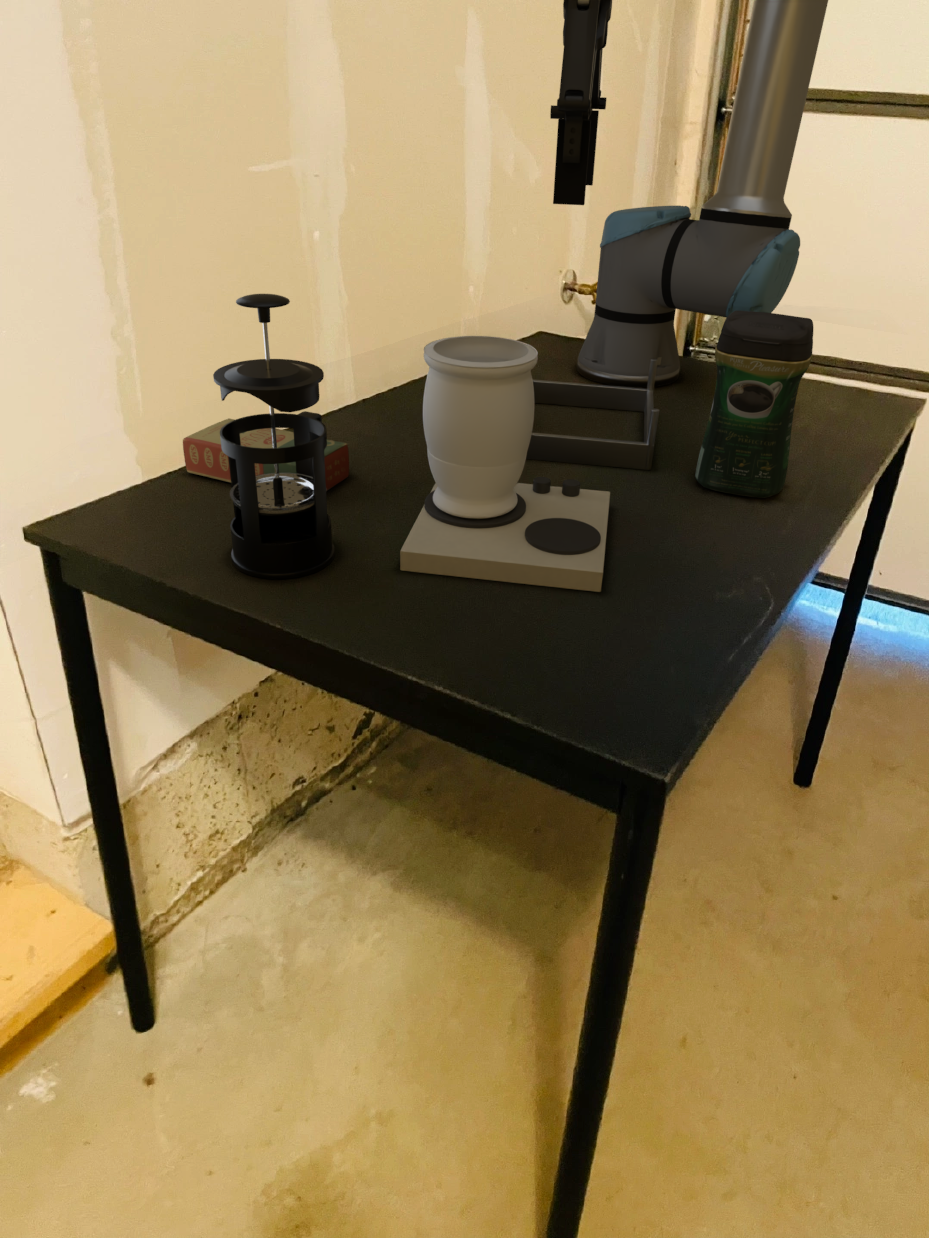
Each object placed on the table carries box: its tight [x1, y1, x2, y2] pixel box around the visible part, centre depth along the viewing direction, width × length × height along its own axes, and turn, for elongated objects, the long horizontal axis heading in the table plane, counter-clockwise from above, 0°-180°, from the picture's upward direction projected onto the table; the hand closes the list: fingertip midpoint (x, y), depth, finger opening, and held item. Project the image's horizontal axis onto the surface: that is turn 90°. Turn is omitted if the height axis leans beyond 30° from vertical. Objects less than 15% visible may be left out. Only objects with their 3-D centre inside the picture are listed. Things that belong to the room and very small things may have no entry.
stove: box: [399, 476, 611, 593], centre depth 88 cm, size 18×18×3 cm
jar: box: [422, 335, 539, 519], centre depth 86 cm, size 11×10×15 cm
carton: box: [182, 418, 350, 492], centre depth 99 cm, size 8×16×4 cm, turn 65°
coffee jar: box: [694, 310, 814, 499], centre depth 97 cm, size 10×8×19 cm
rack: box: [526, 359, 660, 471], centre depth 113 cm, size 22×19×7 cm
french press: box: [212, 293, 336, 580], centre depth 78 cm, size 12×9×23 cm
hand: (574, 194), depth 86 cm, fingers open, 13 cm apart
